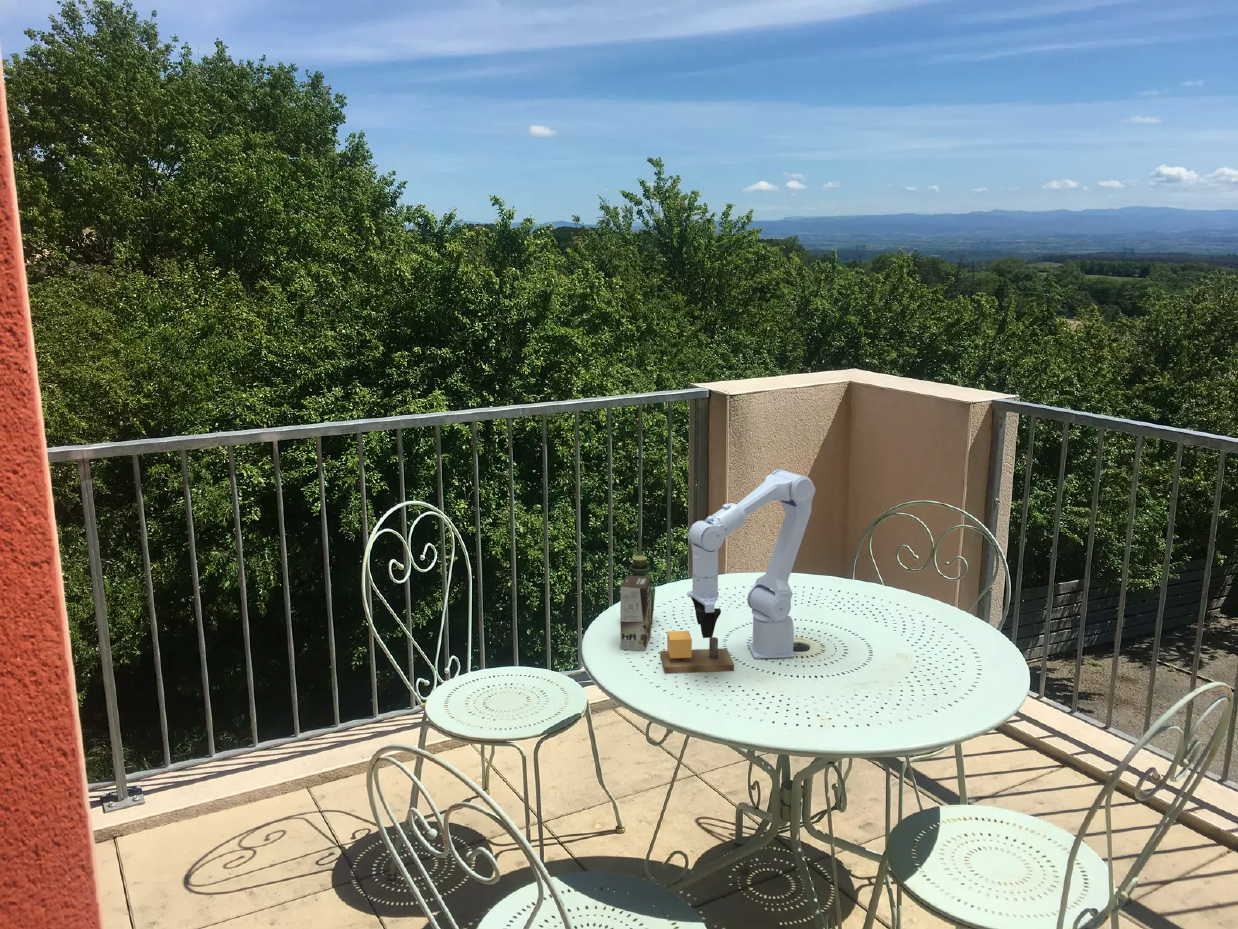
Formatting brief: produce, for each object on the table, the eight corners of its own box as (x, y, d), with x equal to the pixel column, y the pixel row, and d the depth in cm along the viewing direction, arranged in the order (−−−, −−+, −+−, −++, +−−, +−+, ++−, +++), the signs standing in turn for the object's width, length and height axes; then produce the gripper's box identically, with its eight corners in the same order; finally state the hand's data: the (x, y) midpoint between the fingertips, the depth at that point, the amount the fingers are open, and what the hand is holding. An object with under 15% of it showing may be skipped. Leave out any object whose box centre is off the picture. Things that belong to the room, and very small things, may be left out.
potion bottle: (618, 621, 232) (618, 555, 228) (646, 615, 236) (645, 551, 232) (633, 632, 225) (633, 564, 221) (661, 626, 229) (661, 560, 225)
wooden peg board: (726, 654, 212) (727, 630, 210) (734, 670, 203) (734, 646, 202) (660, 656, 211) (660, 633, 209) (664, 673, 202) (664, 648, 201)
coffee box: (645, 651, 214) (645, 588, 210) (619, 649, 215) (619, 586, 211) (652, 636, 222) (652, 575, 219) (627, 634, 224) (626, 574, 220)
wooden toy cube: (688, 648, 208) (688, 630, 208) (691, 657, 204) (691, 639, 203) (667, 649, 208) (667, 631, 207) (669, 658, 203) (670, 640, 202)
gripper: (683, 564, 206) (683, 618, 209) (691, 585, 192) (691, 644, 195) (713, 563, 207) (713, 617, 210) (724, 584, 192) (723, 643, 195)
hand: (704, 630), depth 202 cm, fingers open, 7 cm apart
